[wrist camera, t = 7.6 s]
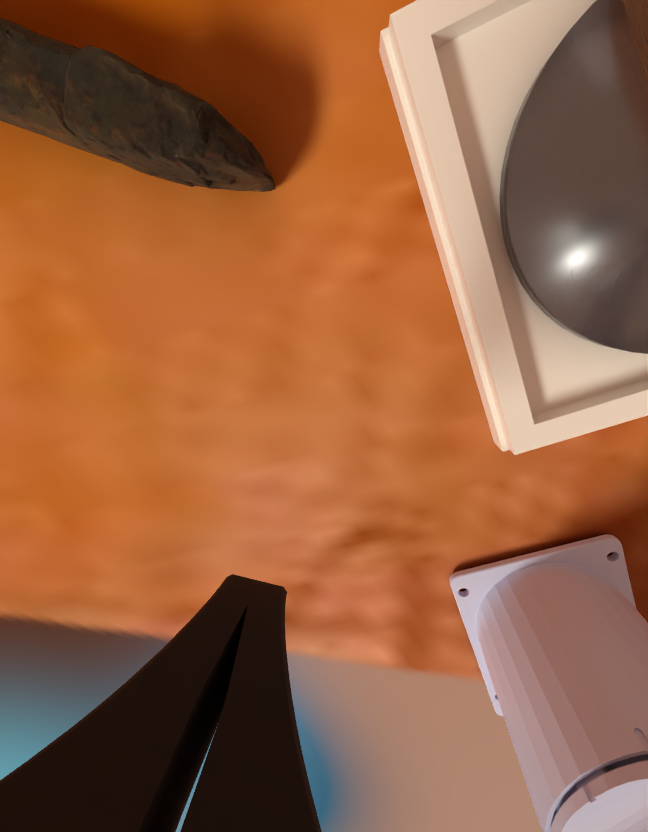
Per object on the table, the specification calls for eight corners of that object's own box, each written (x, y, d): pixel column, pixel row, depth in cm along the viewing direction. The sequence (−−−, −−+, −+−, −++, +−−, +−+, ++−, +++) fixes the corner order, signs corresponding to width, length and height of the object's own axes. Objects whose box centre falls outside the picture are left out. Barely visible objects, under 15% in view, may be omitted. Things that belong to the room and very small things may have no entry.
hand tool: (-160, 76, 17) (-347, -2, 12) (-159, -40, 16) (-365, -172, 11) (256, 257, 17) (219, 244, 13) (288, 159, 16) (260, 107, 12)
